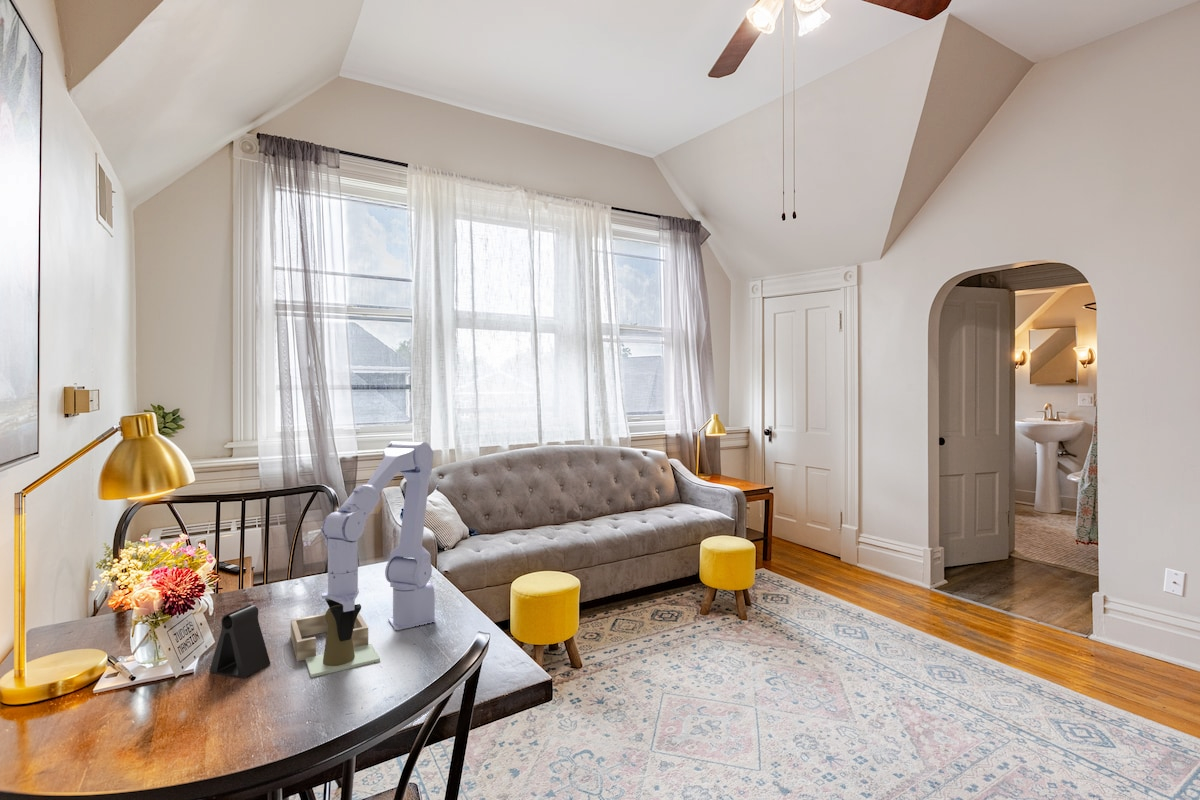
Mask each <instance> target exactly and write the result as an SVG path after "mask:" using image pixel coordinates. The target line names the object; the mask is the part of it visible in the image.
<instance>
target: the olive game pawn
mask: <svg viewBox="0 0 1200 800" xmlns="http://www.w3.org/2000/svg"><path fill="white" fill-rule="evenodd" d="M337 606H341V605H335V606H332V607H337ZM330 608H331V607H330ZM330 608H329V607H328V608H327V610H326V612H325V613H324V614H325V620H326V622H327V624H328V628H327V632H326V638H325V644H324V651H323V654H324V657H323V664H325V665H327V666H339V665H343V664H346V663H349V662H350V661H352V660H353V659H354V658H355V655H354V648H353V641H352V637H351V639H350V640H346V641H340V640H339V637H338V632H337V625H336V621H335V618H334V616H333V614H332V612H331V610H330Z"/></svg>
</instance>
